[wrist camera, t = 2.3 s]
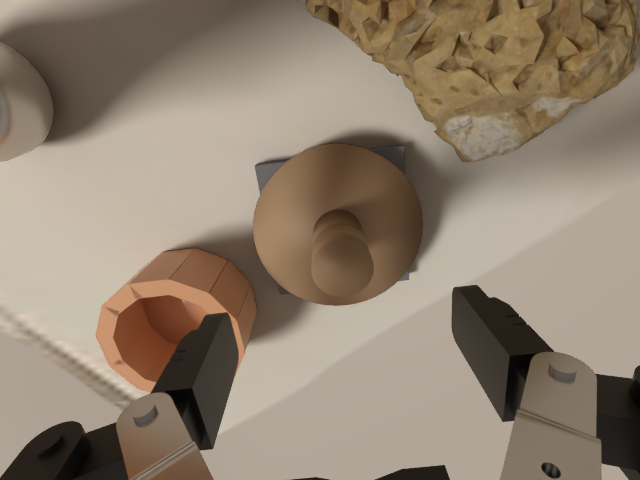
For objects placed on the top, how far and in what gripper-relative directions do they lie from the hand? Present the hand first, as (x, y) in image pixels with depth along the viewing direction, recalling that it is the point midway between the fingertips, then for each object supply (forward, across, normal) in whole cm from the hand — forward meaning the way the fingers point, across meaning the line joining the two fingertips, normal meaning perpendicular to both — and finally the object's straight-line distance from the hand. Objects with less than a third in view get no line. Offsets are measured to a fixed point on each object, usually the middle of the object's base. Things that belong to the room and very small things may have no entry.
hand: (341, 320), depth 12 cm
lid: (+11, 0, 0) cm, 11 cm away
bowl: (+12, +10, +5) cm, 16 cm away
